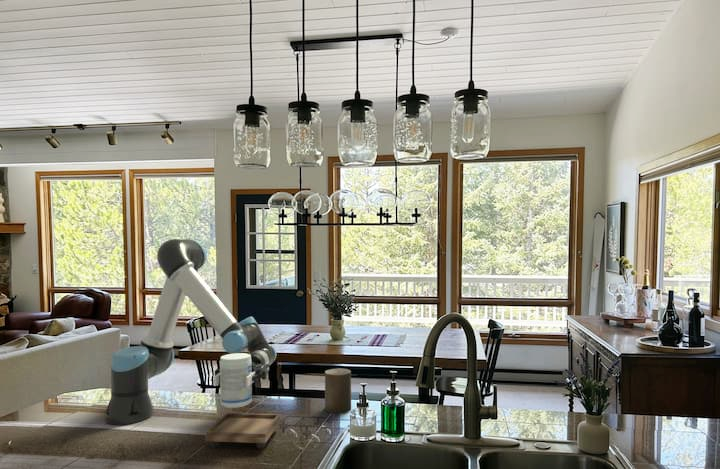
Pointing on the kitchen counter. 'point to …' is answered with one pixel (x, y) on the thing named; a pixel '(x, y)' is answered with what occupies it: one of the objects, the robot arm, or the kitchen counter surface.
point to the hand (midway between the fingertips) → (230, 381)
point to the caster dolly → (243, 428)
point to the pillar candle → (338, 390)
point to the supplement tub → (235, 380)
